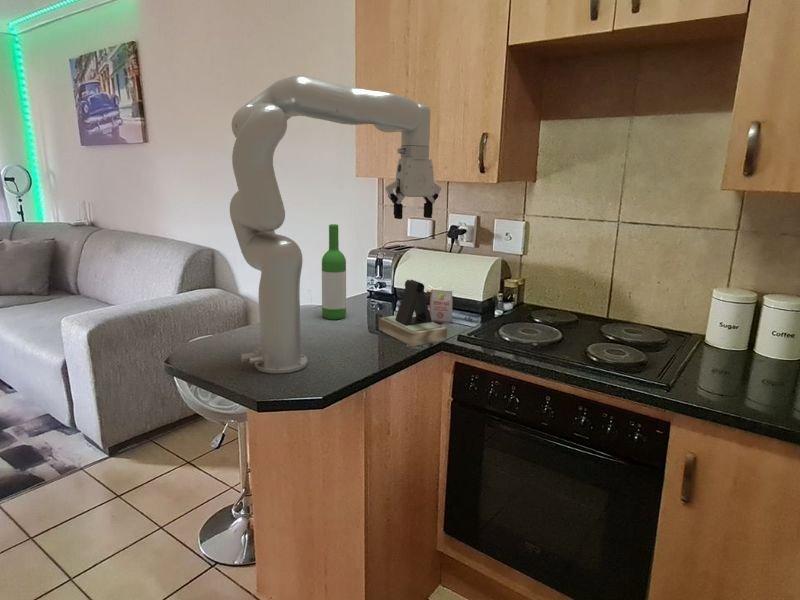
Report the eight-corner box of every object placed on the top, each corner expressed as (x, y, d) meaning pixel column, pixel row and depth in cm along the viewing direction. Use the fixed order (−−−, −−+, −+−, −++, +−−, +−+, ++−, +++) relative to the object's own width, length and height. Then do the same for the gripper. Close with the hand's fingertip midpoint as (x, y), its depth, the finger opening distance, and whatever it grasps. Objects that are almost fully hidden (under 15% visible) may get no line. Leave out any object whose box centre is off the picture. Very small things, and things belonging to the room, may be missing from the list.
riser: (411, 346, 146) (411, 332, 145) (379, 329, 161) (379, 316, 160) (446, 340, 152) (447, 326, 151) (412, 324, 167) (412, 312, 166)
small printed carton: (431, 317, 175) (432, 288, 173) (451, 319, 174) (453, 289, 171) (429, 320, 172) (430, 290, 170) (449, 322, 170) (451, 292, 168)
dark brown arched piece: (421, 317, 160) (422, 278, 158) (431, 322, 155) (433, 282, 153) (395, 320, 156) (395, 280, 153) (405, 325, 151) (406, 284, 148)
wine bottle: (317, 316, 174) (316, 224, 167) (338, 312, 179) (338, 223, 172) (329, 321, 168) (328, 226, 161) (350, 318, 173) (350, 225, 166)
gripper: (394, 152, 134) (393, 220, 138) (449, 154, 143) (446, 218, 147) (379, 152, 140) (379, 217, 144) (433, 155, 149) (431, 216, 153)
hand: (413, 218), depth 146 cm, fingers open, 9 cm apart
